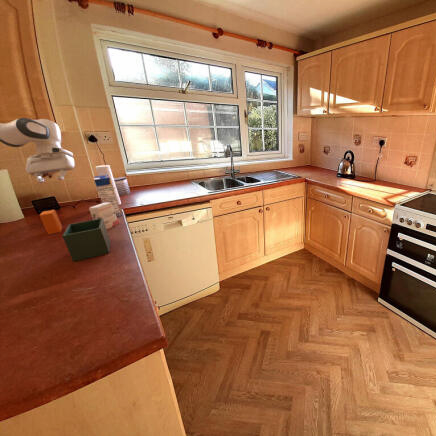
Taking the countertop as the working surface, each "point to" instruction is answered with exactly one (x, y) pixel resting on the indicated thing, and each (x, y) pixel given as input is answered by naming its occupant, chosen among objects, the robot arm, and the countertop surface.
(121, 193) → the can
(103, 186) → the beverage box
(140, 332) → the countertop surface
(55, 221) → the block
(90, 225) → the dark green open box
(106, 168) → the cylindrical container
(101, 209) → the ink box
